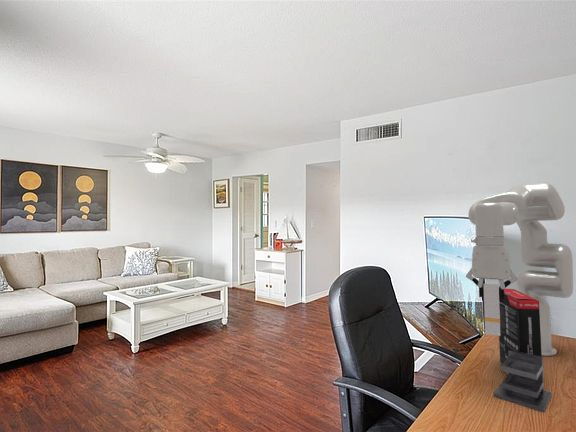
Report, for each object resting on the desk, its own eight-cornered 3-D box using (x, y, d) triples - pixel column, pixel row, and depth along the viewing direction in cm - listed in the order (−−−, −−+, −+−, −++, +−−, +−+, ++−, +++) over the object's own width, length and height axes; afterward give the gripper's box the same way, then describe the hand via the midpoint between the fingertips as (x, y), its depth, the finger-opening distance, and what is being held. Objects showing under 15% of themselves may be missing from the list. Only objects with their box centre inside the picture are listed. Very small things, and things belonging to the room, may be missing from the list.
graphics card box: (545, 386, 103) (542, 298, 104) (520, 385, 105) (517, 298, 105) (518, 363, 120) (516, 288, 121) (497, 362, 121) (495, 287, 122)
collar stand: (504, 382, 107) (503, 347, 107) (551, 395, 98) (550, 358, 98) (493, 396, 98) (492, 358, 99) (544, 412, 90) (542, 371, 90)
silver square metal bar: (485, 330, 107) (483, 283, 107) (500, 332, 105) (498, 284, 105) (484, 334, 103) (483, 285, 104) (500, 336, 101) (498, 286, 101)
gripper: (458, 242, 106) (460, 300, 105) (523, 243, 97) (525, 306, 97) (460, 241, 112) (462, 295, 112) (521, 241, 103) (523, 300, 103)
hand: (491, 299), depth 104 cm, fingers closed on silver square metal bar, 4 cm apart
